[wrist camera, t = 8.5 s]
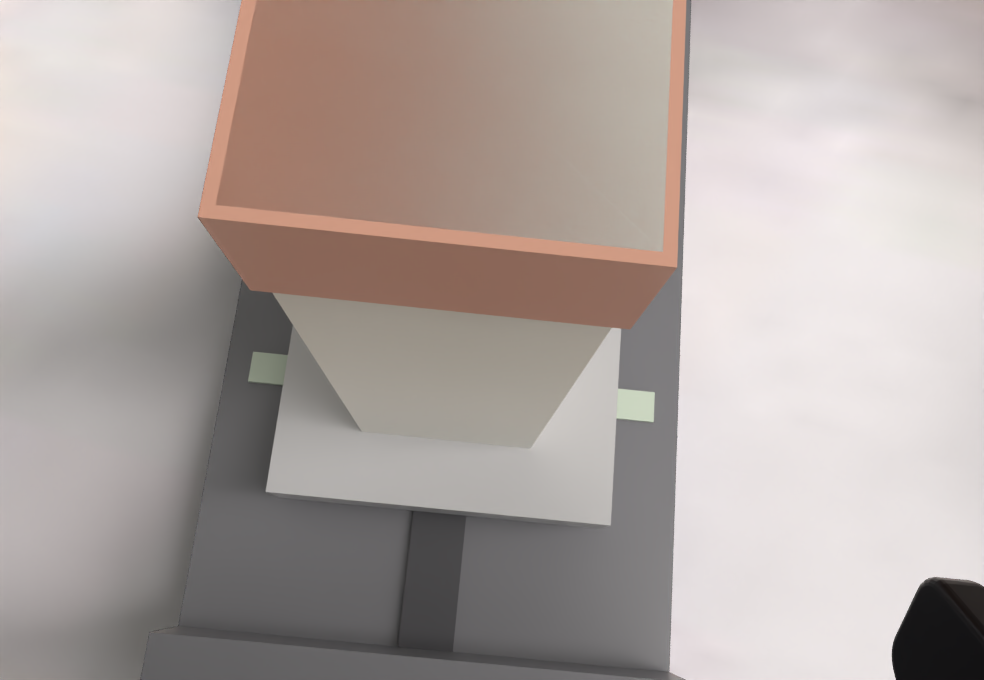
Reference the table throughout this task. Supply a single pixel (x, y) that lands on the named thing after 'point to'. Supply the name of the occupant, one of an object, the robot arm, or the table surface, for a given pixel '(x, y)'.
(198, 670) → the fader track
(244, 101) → the lever
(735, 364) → the table surface
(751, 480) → the table surface
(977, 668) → the robot arm
